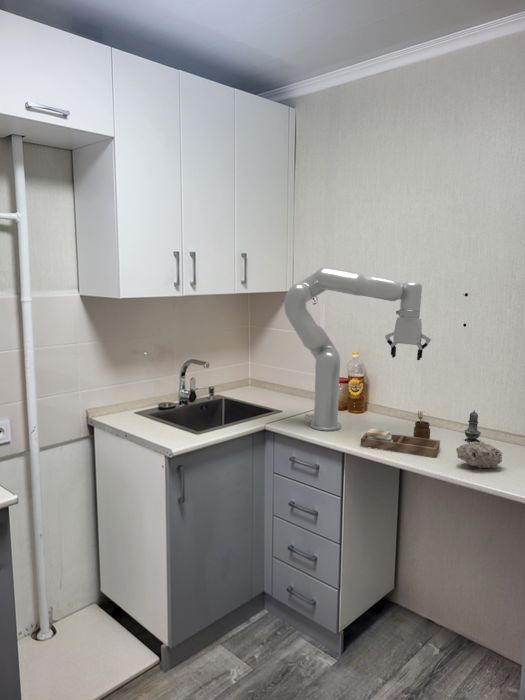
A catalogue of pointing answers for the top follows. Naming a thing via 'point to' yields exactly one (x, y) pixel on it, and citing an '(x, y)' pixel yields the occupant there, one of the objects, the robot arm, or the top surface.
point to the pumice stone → (480, 455)
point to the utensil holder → (421, 428)
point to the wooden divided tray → (405, 445)
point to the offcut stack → (379, 435)
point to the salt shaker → (472, 428)
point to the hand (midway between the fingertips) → (406, 358)
